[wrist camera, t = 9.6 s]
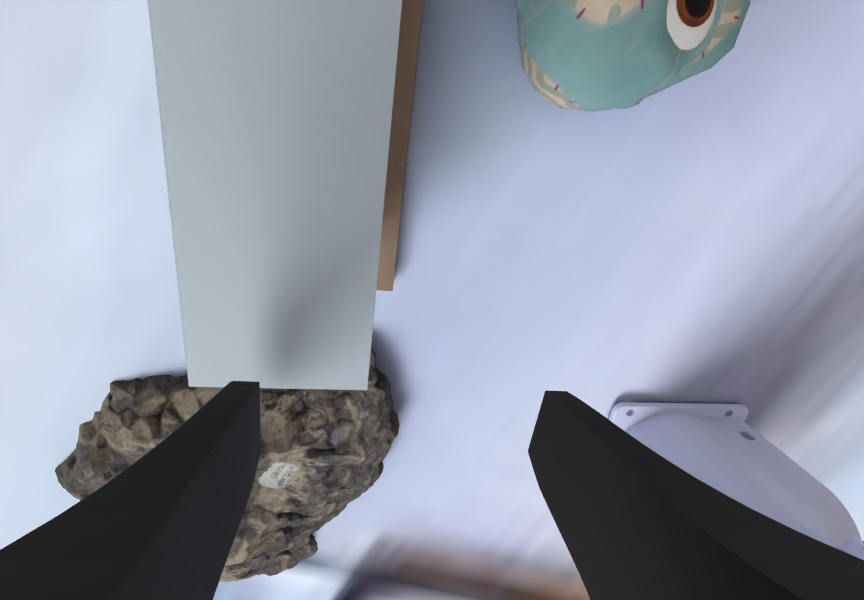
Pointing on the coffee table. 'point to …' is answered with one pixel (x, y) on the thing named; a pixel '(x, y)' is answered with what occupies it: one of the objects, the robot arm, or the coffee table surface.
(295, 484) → the geode
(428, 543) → the coffee table surface
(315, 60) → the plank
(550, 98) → the stuffed animal
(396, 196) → the peg stand
